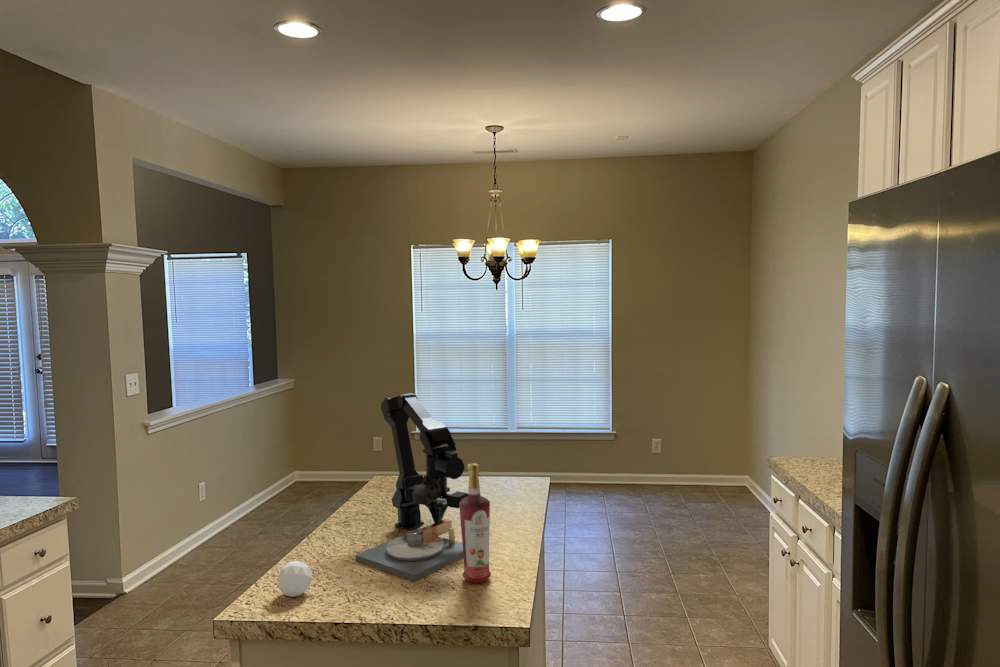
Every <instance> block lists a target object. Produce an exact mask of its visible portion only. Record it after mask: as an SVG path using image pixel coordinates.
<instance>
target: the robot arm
mask: <svg viewBox="0 0 1000 667" xmlns="http://www.w3.org/2000/svg"><path fill="white" fill-rule="evenodd" d="M380 403H381V404H380V410H381V412H382V415H383V419H384V420H385V421H386V423H387V424H388V425H389V426H390V427H391V433H392V438H393V444H394V448H395V449H394V450H395V455H396V460H397V466H398V467H397V468H398V473H399V475H398V477H397V479H396V483H395V489H396V490H395V492H394V494H393V495H392V497H391V504H392V507H394V508H396V509H397V517H398V518H397V521H398V522H397V523H395V524H394V527H398V528H401V529H404V530H409V531H410V530H412V529H414V528H416V527H419V526H421V525H424V524H425V522H424V521H422V520H421V518H422V516H421V510H420V509H421V508H420V505H423V506H425V507H427V509H428V511H429V513H430V515H431V517H432V520H433V524H434V523H436V522H439V521H441V520H443V518H444V515H445V514H446V511H447V509H448V507H449V508H454V509H460V507H459V503H460V501H462V500H463V499H464V498H466V497H468V492H464V491H463V492H462V491H458V490H457V491H456V492H453V493H451V494H450V493H449V492H450V491H451V487H448V478H449V479H452V480H457V479H459V478H460V477H461V476H462V475H463V473H464V471H465V463H464V461H463V460H462V459H461V458H460V457H458V456H459V455H458V453H457V452H456V451H457V447H456V445H457V444H456V443H455V441H454V438H453V437H452V434H451V431H450V429H449V428H448V426H446V425H445V424H444V423H443V422H442V421H439V420H437V419H434V418H433V417H432V416H431V414H430V413H429V412H428V411H427V409H426V408H425V407H424V405H422V403H421V402H420V401H419V399H418V396H417V394H416V393H413V392H409V393H402V394H400V395H397V396H389V397H385V398H384V399H383V401H382V402H380ZM409 419H410V420H411V421H412V422H413V424H414V425H415V427H416V428H417V429H418V431H419V435H418V437H419V440H420V441H421V444H422V445H423V447H424V449H423V450H422V452H423V453H424V454H425V468H426V469H425V471H426V474H425V475H423V474H419V473H418V472H417V470H416V468H415V466H416V465H415V460H414V456H413V455H414V454H413V449H412V444H411V440H410V439H411V438H410V434H409V427H408V422H409Z"/></svg>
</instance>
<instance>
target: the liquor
mask: <svg viewBox="0 0 1000 667" xmlns="http://www.w3.org/2000/svg"><path fill="white" fill-rule="evenodd" d="M467 473H468V492H467V493H468V497H466V498H464V499H463V500H462V501H460V503H459V507H460V508H459V518H460V519H459V521H460V531H461V541H462V542H461V543H463V573H462V578H463V579H465V580H466V582H469V583H470V584H473V585H475V584H476V585H480V584H483V583H486V581H487V580H488V579H489V578H490V577H491V576H492V572H491V571H490V527H491V526H490V520H491V519H490V517H491V516H490V515H491V512H490V511H491V509H490V508H491V506H490V505H491V502H490V500H489V499H488V498H486V497H485V496H482V495H481V489H480V488H481V487H480V480H479V476H480V475H479V474H480V464H479V463H474V462H473V463H468V464H467Z"/></svg>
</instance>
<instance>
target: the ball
mask: <svg viewBox="0 0 1000 667" xmlns="http://www.w3.org/2000/svg"><path fill="white" fill-rule="evenodd" d="M312 579H313V574H312V571H311V568H309V566H308V565H307V564H306V563H304V562H302V561H300V560H299V561H298V560H297V561H296V560H295V561H289V562H287V564H285V565H284V566H282V567H281V568H280V570H279V573H278V575H277V578H276V581H277V583H276V585H277V588H278V589H279V591H280V592H281V593H282V594H283V595H285V596H288V597H292V598H294V597H300V596H302V595H303V594H304V593H305V592H307V591H308V590H309V589H310V585H311V583H312V582H311V581H312Z"/></svg>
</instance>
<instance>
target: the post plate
mask: <svg viewBox="0 0 1000 667" xmlns="http://www.w3.org/2000/svg"><path fill="white" fill-rule="evenodd" d="M405 535H407V533H406V534H403V535H402V536H405ZM455 536H456V534H455V527H453V526H452V527H451V528H449V532H448V538H445V537H442V536H439V537H440V538H441V539H442V540H443V542H444V549H443V551H442V552H441V553H440V554H439V555H437V556H435V557H432V558H429V559H425V560H420V561H399V560H395V559H392V558H390V557H389V556H388V555H387V551H386V546H387V544H388V543H389V542H390V541H391V540H389V541H386V542H384V543H382V544H379V545H376V546H374V547H372V548H369V549H367V550H364V551H362V552H360V553H357V554H355V561H356V562H359V563H361V564H363V565H367V566H370V567H373V568H375V569H378V570H381V571H385V572H387V573H390V574H393V575H396V576H399V577H403V578H405V579H407V580H410V581H413V582H416V581H418V580H419V579H421V578H424V577H427V576H428V575H430V574H432V573H434V572H437V571H438V570H440V569H443V568H444V567H447V566H448V565H450V564H453V563H454V562H456V561H458V560H460V559H462V558H463V559H464V557H463V543H462V542H459V541H456V539H455V538H456V537H455Z"/></svg>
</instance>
